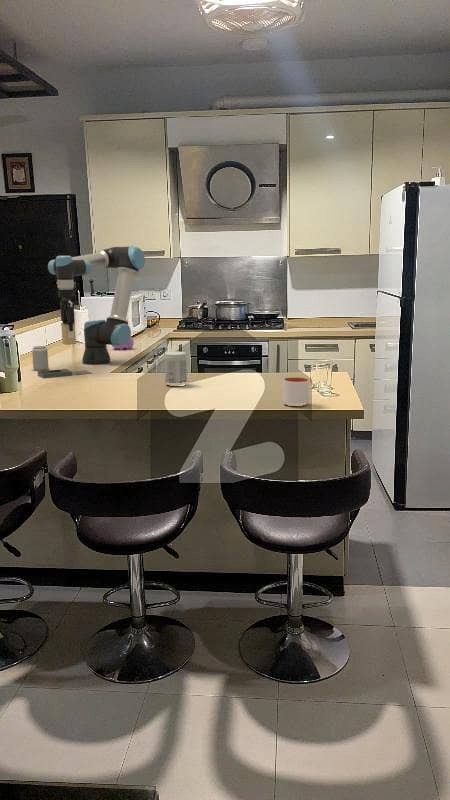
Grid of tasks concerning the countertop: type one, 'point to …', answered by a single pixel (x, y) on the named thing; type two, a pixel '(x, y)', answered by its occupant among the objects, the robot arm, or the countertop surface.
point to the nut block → (65, 335)
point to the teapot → (127, 345)
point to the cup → (295, 390)
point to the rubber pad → (81, 372)
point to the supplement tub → (175, 367)
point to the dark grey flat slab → (54, 373)
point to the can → (40, 358)
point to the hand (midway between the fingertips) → (68, 337)
